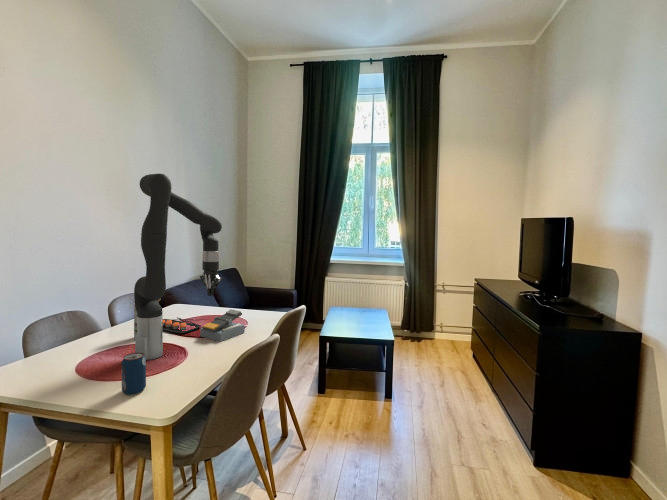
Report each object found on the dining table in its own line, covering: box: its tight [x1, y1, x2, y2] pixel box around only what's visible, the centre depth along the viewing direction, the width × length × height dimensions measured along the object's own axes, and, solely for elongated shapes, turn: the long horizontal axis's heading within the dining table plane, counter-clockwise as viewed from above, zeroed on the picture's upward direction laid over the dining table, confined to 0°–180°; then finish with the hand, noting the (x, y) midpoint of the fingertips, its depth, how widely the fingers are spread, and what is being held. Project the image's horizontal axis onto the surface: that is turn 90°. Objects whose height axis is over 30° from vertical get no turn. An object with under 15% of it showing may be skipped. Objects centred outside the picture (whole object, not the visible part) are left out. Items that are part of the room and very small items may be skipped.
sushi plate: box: [162, 317, 202, 334], centre depth 188 cm, size 29×30×4 cm
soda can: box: [120, 352, 147, 396], centre depth 113 cm, size 7×7×12 cm
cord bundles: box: [222, 323, 241, 332], centre depth 172 cm, size 12×13×1 cm
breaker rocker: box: [201, 309, 243, 332], centre depth 172 cm, size 19×8×2 cm, turn 152°
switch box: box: [199, 316, 246, 342], centre depth 172 cm, size 16×14×8 cm
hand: (210, 295), depth 166 cm, fingers closed
